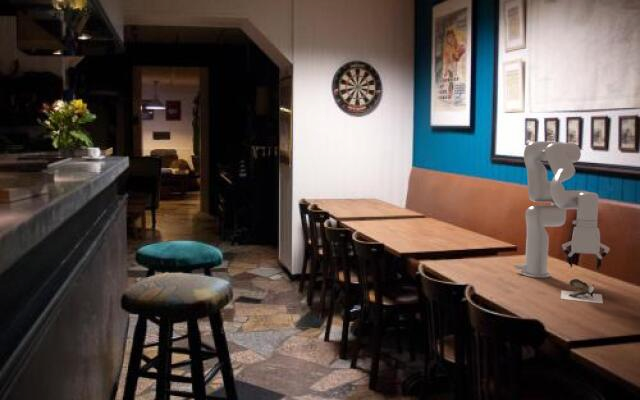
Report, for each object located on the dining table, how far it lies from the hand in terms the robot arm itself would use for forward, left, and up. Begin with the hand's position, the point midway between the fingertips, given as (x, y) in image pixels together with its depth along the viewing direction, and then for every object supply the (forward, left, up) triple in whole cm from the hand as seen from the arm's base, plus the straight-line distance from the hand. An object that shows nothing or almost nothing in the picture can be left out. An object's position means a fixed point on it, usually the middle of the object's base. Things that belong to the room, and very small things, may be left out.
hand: (584, 267), depth 247 cm
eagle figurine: (0, +1, -12) cm, 12 cm away
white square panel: (0, +1, -12) cm, 12 cm away
